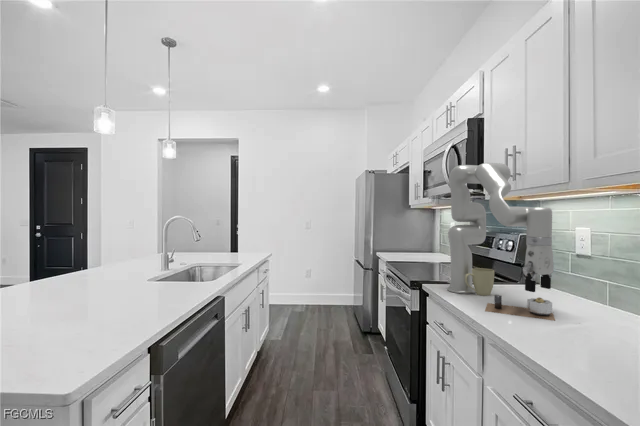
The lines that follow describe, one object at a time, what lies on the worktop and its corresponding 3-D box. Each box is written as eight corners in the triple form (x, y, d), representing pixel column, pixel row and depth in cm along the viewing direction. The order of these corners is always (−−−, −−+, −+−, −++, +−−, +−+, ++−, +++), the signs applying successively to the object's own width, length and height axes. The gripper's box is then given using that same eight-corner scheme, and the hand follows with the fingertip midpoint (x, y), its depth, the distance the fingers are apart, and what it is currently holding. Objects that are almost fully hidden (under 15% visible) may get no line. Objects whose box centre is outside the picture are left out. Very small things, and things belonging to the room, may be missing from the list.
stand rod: (493, 307, 123) (492, 295, 123) (498, 307, 123) (498, 294, 124) (497, 309, 121) (497, 296, 121) (503, 309, 121) (503, 296, 121)
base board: (484, 314, 119) (484, 311, 119) (487, 305, 130) (487, 302, 130) (555, 324, 108) (555, 320, 108) (552, 314, 119) (552, 310, 119)
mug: (475, 293, 151) (475, 267, 152) (498, 297, 144) (498, 270, 144) (464, 296, 144) (464, 269, 145) (487, 301, 137) (487, 272, 137)
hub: (526, 312, 117) (526, 296, 117) (539, 310, 119) (539, 295, 119) (540, 316, 112) (540, 300, 112) (553, 315, 113) (553, 299, 113)
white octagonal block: (525, 307, 120) (525, 297, 120) (547, 308, 118) (546, 299, 118) (531, 312, 113) (531, 302, 113) (554, 314, 111) (554, 304, 111)
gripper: (536, 244, 108) (535, 295, 109) (563, 241, 116) (562, 289, 117) (513, 242, 115) (513, 290, 115) (540, 239, 123) (540, 284, 123)
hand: (537, 289), depth 116 cm, fingers open, 9 cm apart
